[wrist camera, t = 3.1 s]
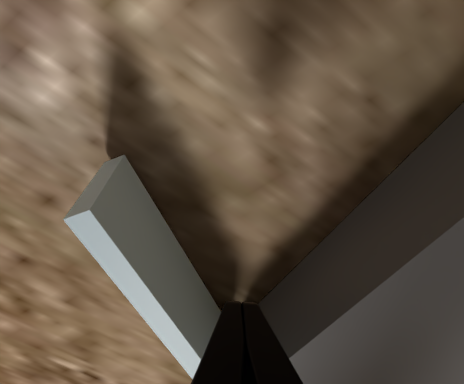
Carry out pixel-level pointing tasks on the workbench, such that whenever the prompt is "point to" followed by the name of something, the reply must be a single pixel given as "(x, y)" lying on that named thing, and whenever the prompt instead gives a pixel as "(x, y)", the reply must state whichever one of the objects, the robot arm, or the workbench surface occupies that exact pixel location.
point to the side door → (145, 260)
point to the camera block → (385, 280)
